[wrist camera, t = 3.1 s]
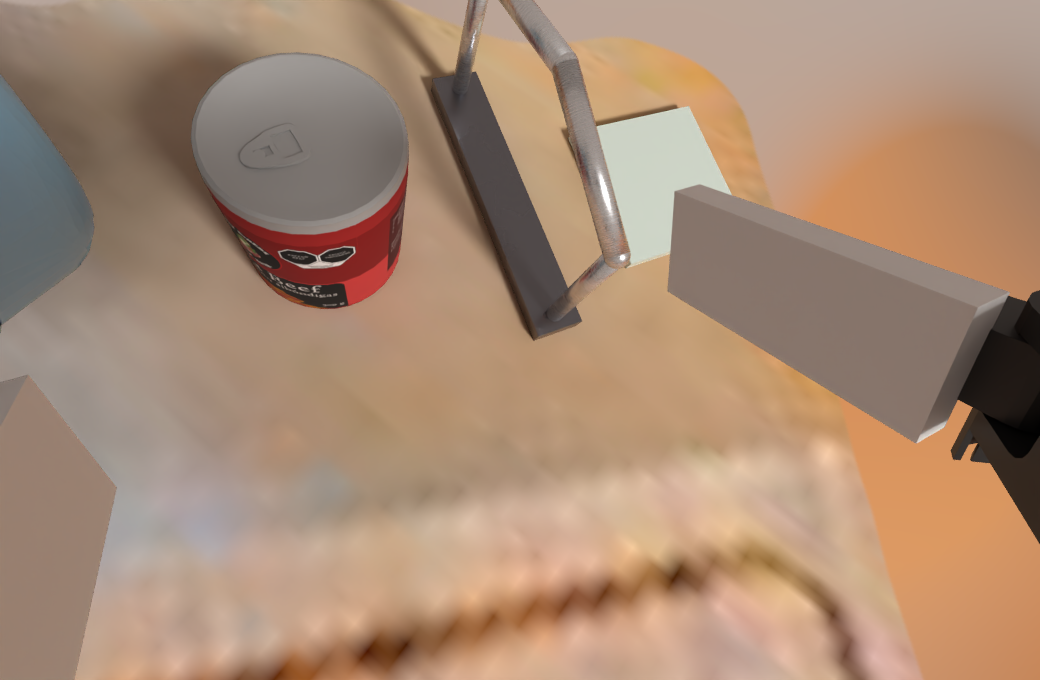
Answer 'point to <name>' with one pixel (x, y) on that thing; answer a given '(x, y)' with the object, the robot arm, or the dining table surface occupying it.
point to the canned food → (307, 173)
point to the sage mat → (655, 174)
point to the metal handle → (501, 183)
